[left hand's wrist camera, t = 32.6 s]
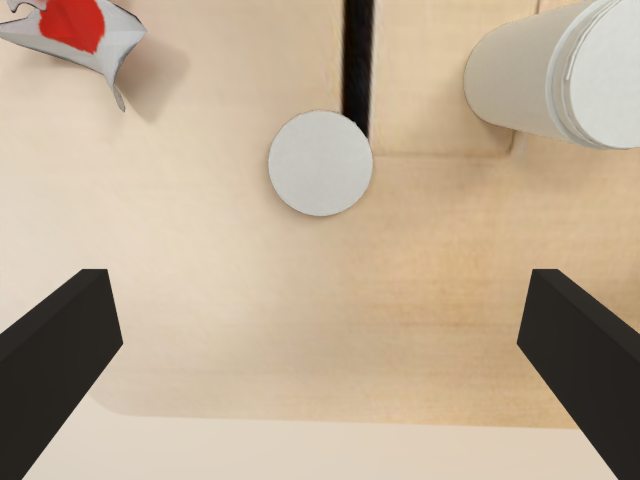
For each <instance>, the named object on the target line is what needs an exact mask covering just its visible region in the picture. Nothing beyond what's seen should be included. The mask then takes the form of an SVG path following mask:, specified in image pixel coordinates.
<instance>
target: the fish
mask: <svg viewBox="0 0 640 480" xmlns="http://www.w3.org/2000/svg"><path fill="white" fill-rule="evenodd" d="M6 1H7V3H8V5H9V7H10V9H11V11H12V12H13V13H15V12H16V10H17V8H18V6H19V5H20V4H22V3H26V4H30V5H31V6H33V7H35V8H36V9H35V10H33V11H32V12H31V13H30V14H29V15H28V16H27V18H24V19H19V20H14V21H10V22H5V23H0V38H2V39H5V40H7V41H10V42H12V43H15V44H17V45H20V46H23V47H26V48H29V49H33V50H36V51H39V52H42V53H45V54H49V55H52V56H55V57H58V58H61V59H64V60H67V61H70V62H74V63H77V64H80V65H83V66H85V67H87V68H90V69H92V70H94V71H97V72H99V73H101V74H104V76H105V78H106V80H107V82H108V84H109V86H110V88H111V90H112V92H113V94H114V96H115V98H116V101H117V104H118V106H119V107H120V109H121V110H122V111H123V112H125V105H124V102H123V100H122V97H121V95H120V93H119V92H118V90H117V89H116V88H115V87H114V81H115V77H116V74H117V71H118V69H119V68H120V66H121V64H122V62H123V61H124V59H125V57H126V56H127V55H128V54H129V52H130V51H131V50H132V49H133V48H134V47H135V46H136V45H137V43H138V42H139V41H140V40H141V39H142V38H143V36H144V35H145V34H146V33H147V32H148V31H147V30H146V29H145V27H144V26H143V25H142V23H141V22H140V21H139V19H138V18H137V17H136V16H135V15H133V14H131V13H129V12H128V11H126V10H124V9H122V8H121V7H119V6H117V5H115V4H113V3H111V2H109V1H108V0H6Z"/></svg>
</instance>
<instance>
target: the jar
mask: <svg viewBox="0 0 640 480" xmlns="http://www.w3.org/2000/svg"><path fill="white" fill-rule="evenodd" d="M464 91H465V96H466V99H467V101H468V104H469V106H470V107H471V109H472V110H473V111H474V113H475V114H476V115H477V116H479V117H480V118H481V119H483V120H484V121H486V122H489V123H491V124H495V125H499V126H503V127H507V128H511V129H515V130H519V131H523V132H527V133H531V134H535V135H539V136H543V137H547V138H551V139H555V140H559V141H563V142H567V143H571V144H575V145H578V146H582V147H586V148H592V149H621V150H627V149H632V148H637V147H640V0H583V1H580V2H576V3H573V4H570V5H567V6H563V7H560V8H557V9H553V10H550V11H547V12H544V13H540V14H537V15H534V16H530V17H527V18H524V19H521V20H517V21H514V22H511V23H508V24H504V25H502V26H500V27H497V28H496V29H494V30H493V31H491V32H490V33H488V34H487V35H486V36H485V37H484V38H483V39H482V40H481V41H480V42H479V43H478V44H477V46H476V47H475V48H474V50H473V52H472V53H471V55H470V57H469V59H468V62H467V65H466V69H465V73H464Z"/></svg>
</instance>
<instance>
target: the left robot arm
mask: <svg viewBox="0 0 640 480" xmlns="http://www.w3.org/2000/svg"><path fill="white" fill-rule="evenodd" d="M122 345H123V340H122V335H121V330H120V326H119V321H118V317H117V312H116V307H115V303H114V298H113V293H112V289H111V284H110V279H109V275H108V270H107V269H82V270H81V271H79V272H78V273H77V274H76V275H74V276H73V277H72V278H71V279H69V280H68V281H67V282H65V283H64V284H63V285H62V286H60V287H59V288H58V289H57V290H55V291H54V292H53V293H52V294H50V295H49V296H48V297H47V298H45V299H44V300H43V301H42V302H40V303H39V304H38V305H36V306H35V307H34V308H33V309H31V310H30V311H29V312H28V313H26V314H25V315H24V316H23V317H21V318H20V319H19V320H18V321H16V322H15V323H14V324H12V325H11V326H10V327H9V328H7V329H6V330H5V331H4V332H2V333H1V334H0V480H22V478H23V477H24V476H25V475H26V473H27V472H28V470H29V469H30V468H31V466H32V465H33V464H34V462H35V461H36V460H37V458H38V457H39V456H40V454H41V453H42V452H43V450H44V449H45V448H46V446H47V445H48V444H49V442H50V441H51V440H52V438H53V437H54V436H55V434H56V433H57V432H58V430H59V429H60V428H61V426H62V425H63V424H64V422H65V421H66V420H67V418H68V417H69V416H70V414H71V413H72V412H73V410H74V409H75V408H76V406H77V405H78V404H79V402H80V401H81V400H82V398H83V397H84V396H85V394H86V393H87V392H88V390H89V389H90V388H91V386H92V385H93V384H94V382H95V381H96V380H97V378H98V377H99V376H100V374H101V373H102V372H103V370H104V369H105V368H106V366H107V365H108V364H109V362H110V361H111V360H112V358H113V357H114V355H115V354H116V353H117V351H118V350H119V349H120V347H121V346H122ZM517 345H518V346H519V347H520V349H521V350H522V351H523V353H524V354H525V355H526V357H527V358H528V360H529V361H530V362H531V364H532V365H533V366H534V368H535V369H536V370H537V372H538V373H539V374H540V376H541V377H542V378H543V380H544V381H545V382H546V384H547V385H548V386H549V388H550V389H551V390H552V392H553V393H554V394H555V396H556V397H557V398H558V400H559V401H560V402H561V404H562V405H563V406H564V408H565V409H566V410H567V412H568V413H569V414H570V416H571V417H572V418H573V420H574V421H575V422H576V424H577V425H578V426H579V428H580V429H581V430H582V432H583V433H584V434H585V436H586V437H587V438H588V440H589V441H590V442H591V444H592V445H593V446H594V448H595V449H596V450H597V452H598V453H599V454H600V456H601V457H602V458H603V460H604V461H605V462H606V464H607V465H608V466H609V468H610V469H611V470H612V472H613V473H614V474H615V476H616V477H617V478H618V480H640V334H639V333H638V332H636V331H635V330H634V329H633V328H631V327H630V326H629V325H628V324H626V323H625V322H624V321H622V320H621V319H620V318H619V317H617V316H616V315H615V314H614V313H612V312H611V311H610V310H609V309H607V308H606V307H605V306H604V305H602V304H601V303H600V302H598V301H597V300H596V299H595V298H593V297H592V296H591V295H590V294H588V293H587V292H586V291H585V290H583V289H582V288H581V287H580V286H578V285H577V284H576V283H575V282H573V281H572V280H571V279H569V278H568V277H567V276H566V275H564V274H563V273H562V272H561V271H559V270H558V269H533V270H532V275H531V279H530V284H529V289H528V293H527V298H526V303H525V307H524V312H523V317H522V321H521V326H520V330H519V335H518V340H517Z"/></svg>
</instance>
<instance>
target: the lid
mask: <svg viewBox="0 0 640 480" xmlns="http://www.w3.org/2000/svg"><path fill="white" fill-rule="evenodd" d="M367 140H368V139H367V138H366V137H365V135H364V134H363V133H362V131H361V130H360V129H359V128H358V127H357V126H356V123H355V122H352V121H351V120H350V119H348V118H347V117H345V116H343V115H341V114H339V113H338V112H337V113H336V112H332V111H327V110H319V109H318V110H314V111H308V112H305V113H302V114H299V115H298V116H296V117H294V118H293V119H291V120H290V121H289V122H288V123H286V124H285V125H283V126H282V129H281V130H280V131H279V133H278V134H277V136H276V137H275V139H274V141H273V142H272V143H271V144H272V146H271V149H270V152H269V158H268V170H269V175H270V179H271V182H272V185H273V187H274V189H275V190H276V192H277V193H278V195H279V196H280V197H281V199H282V200H283V201H284V202H285V203H287V204H288V205H289V206H290V207H292V208H293V209H295V210H297V211H299V212H302V213H304V214H308V215H313V216H327V215H333V214H336V213H339V212H342V211H344V210H346V209H347V208H349V207H351V206H352V205H353V204H355V203H356V202H357V201H358V200H359V199H360V197H361V196H362V195H363V194H364V192H365V190H366V189H367V187H368V184H369V182H370V179H371V176H372V169H373V157H372V152H371V148H370V146H369V143H368V141H367Z"/></svg>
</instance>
